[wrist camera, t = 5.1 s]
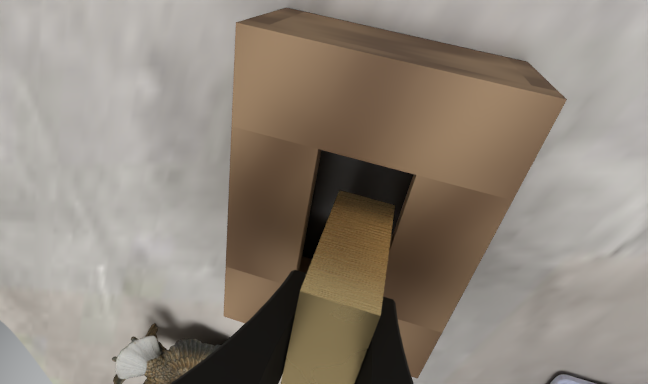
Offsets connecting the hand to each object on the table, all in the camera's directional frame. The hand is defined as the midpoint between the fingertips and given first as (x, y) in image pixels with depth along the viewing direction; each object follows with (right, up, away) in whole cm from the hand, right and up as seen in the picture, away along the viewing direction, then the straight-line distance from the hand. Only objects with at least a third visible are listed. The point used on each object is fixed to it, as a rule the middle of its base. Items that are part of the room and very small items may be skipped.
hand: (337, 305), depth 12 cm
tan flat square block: (+1, +1, +3) cm, 3 cm away
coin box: (+2, +4, +7) cm, 8 cm away
